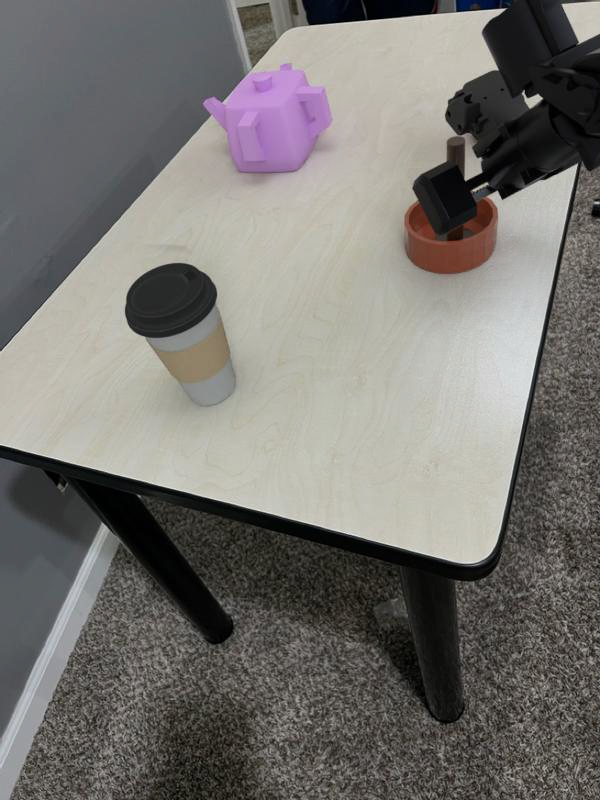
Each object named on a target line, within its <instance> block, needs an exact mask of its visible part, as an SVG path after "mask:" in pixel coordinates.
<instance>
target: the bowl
mask: <svg viewBox="0 0 600 800" xmlns="http://www.w3.org/2000/svg"><path fill="white" fill-rule="evenodd" d="M474 191H475V190H472V191H471V193H472V194H473V192H474ZM476 203H477V217H475V218H474V219H472V220H471V221H469V222H467V223H465V224H464V228H467V229H469V230H471V231H472V232H473V233H474V234H475V235H474V236H472V237H470V238H466V239H462V240H458V241H445V242H443V241H435V237H436V235H437V234H435V233H434V231H433V229H432V227H431V225H430V223H429V221H428V219H427V217H426V215H425V213H424V211H423V209H422V207H421V205H420V203H419V201H418V199H417V200H416V201H415V202H413V203H412V204H411V205H409V207H408V208H407V210H406V212H405V213H404V215H403V216H404V219H403V229H404V242H405V243H404V245H405V251H406V255H407V257H408V259H409V260H410V261H411V263H413V265H415V266H416V267H417V268H420V269H421V270H424V271H426V272H430V273H435V274H442V275H446V274H447V275H449V274H459V273H463V272H467V271H471V270H473V269H475V268H477V267H480V266H481V265H483V264H484V263H486V262H487V261H488V260H489V259H490V258H491V257H492V256H493V254H494V252H495V249H496V245H497V240H498V239H497V238H498V224H499V209H498V207H497V205H496V204H495V202H494V201H493V199H491V198H490V197H489V196H487V197H485V198H483V199H481V200H479V201H477V202H476Z"/></svg>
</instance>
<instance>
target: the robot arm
mask: <svg viewBox="0 0 600 800" xmlns="http://www.w3.org/2000/svg"><path fill="white" fill-rule="evenodd" d="M481 36H482V38H483V41H484V42H485V44H486V46H487V48H488V50H489V53H490V55H491V57H492V59H493V61H494V63H495V65H496V67H497V69H492V70H490V71H488V72H485V73H484V74H482V75H479V76H478V77H475V78H473V79H471V80H469V81H466V82H465V83H464V84H463V86H462V88H461V89H459V90H457V91H455V93H454V95H453V97H451V98H449V99H448V100H447V107H446V110H445V113H444V119H445V122H446V123H447V125H449V127H450V128H451V129H452V131H454V133H455V134H456V136H461V137H463V136H464V135H466V134H470V135H471V136H472V137H473V138H474V139H476V140H477V142H475V143H474V144H473V145H472V146H471V149H472V151H473V153H474V156H475V157H476V159H480V158H481V161H480V169H481V172H480V173H478V174H477V175H474V176H472V177H470V178H468V179H467V180H466V178H465V179H464V177H463V175H462V173H461V171H460V169H459V167H458V165H457V164H455V163H453V162H452V161H450V160H448V161H447V160H446V161H444V162H442V163H439V165H437V166H433V167H432V168H430V169H429V170H426V171H424V172H423V173H421V174H419V176H418V177H417V178H415V179H414V180H413V182H412V183H413V184H412V187H411V189H412V191H413V193H414V195H415V198H416V199H417V200H418V201H419V203H420V205H421V207H422V209H423V211H424V213H425V215H426V217H427V219H428V221H429V223H430V225H431V227H432V229H433V231H434V233H435V234H438V235H440V236H443V235H445V234H447V233H449V232H450V231H452V230H454V229H456V228H458V227H460V226H462V225H463V224H465V223H467V222H469V221H471V220H472V219H474V218H475V217H477V203H476V202H477V201H479V200H481V199H483V198H485V197H490V196H491V195H492V194H495V193H496V192H497V193H498V195H499V197H500V199H501V201H504V200H506V199H508V198H509V197H511V196H513V195H515V194H517V193H519V192H521V191H522V190H525V189H526V188H529V187H530V186H532V185H534V184H536V183H538V182H539V181H546V180H549V179H550V178H552V177H554V176H557V175H560V174H561V173H563V172H565V171H567V170H568V169H571V168H572V167H574V166H576V165H578V164H579V163H583V165H584V168H585V170H586V171H587V172H593V171H595V170H598V169H599V168H600V33H598V34H596V35H594V36H592V37H590V38H588V39H586V40H583V41H582V42H580V41H579V39H578V37H577V34H576V32H575V30H574V28H573V25H572V24H571V21H570V19H569V17H568V15H567V13H566V11H565V9H564V7H563V4H562V0H516V1H515V2H513V3H512V4H511V5H509V6H508V7H507V8H505V9H504V10H502V12H501V13H499V14H498V15H496V16H494V17H492V18H491V19H489V21H488V22H487V23H486V24H485V25H484V27H483V28H482V29H481ZM523 93H524V94H523ZM524 95H525V96H524ZM537 95H538V96H539V97H540V98H542V99H540V100H539V101H538V102H537V103H535V104H534V105H533V106H532V107H531V108H530V106H529V105H528V104H527V102H526V100H525V98H526V99H531V98H533V97H536V96H537ZM483 185H484V186H483ZM481 186H482V187H481ZM479 187H481V188H479ZM477 188H479V189H477ZM475 189H476V190H475ZM471 191H474V192H473V194H472V193H471Z"/></svg>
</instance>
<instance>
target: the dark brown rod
mask: <svg viewBox="0 0 600 800" xmlns="http://www.w3.org/2000/svg"><path fill="white" fill-rule="evenodd" d="M448 160H450V161H452V162H453V163H455V164H457V165H458V167H459V169H460V171H461V173H462V175H463V177H464V179H465V180H466V178H465V177H466V139H465V137H464V136H459V135H456V136H455V135H454V136H451V137H449V138H448V139H447V140H446V161H448ZM474 235H475V234H474V233H473V232H472V231H471V230H469V229H467V228H464V224H463V225H462V226H460V227H458V228H456V229H454V230H452V231H450V232H449V233H447V234H445V235H443V236H440V235H438V234H437V235H436V237H435V241H443V242H445V241H458V240H462V239H466V238H470V237H472V236H474Z"/></svg>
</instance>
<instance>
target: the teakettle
mask: <svg viewBox="0 0 600 800" xmlns="http://www.w3.org/2000/svg"><path fill="white" fill-rule="evenodd" d="M328 99H329V98H328V95H327V91H326V88H325V85H324V86H323V85H321V86H317V85H315V86H314V85H313V86H310V83H309V80H308V78H307V76H306V74H305V72H304V70H302V69H293V66H292V62H283V63H282V64H280V65H279V70H270V71H268V70H267V71H259V72H257V71H256V72H250V73H249V74H247V75H246V76H245V77H244V78H243V79H242V80H241V81H240V82H239V84H238V85H237V86H236V87H235V89H234V90H233V92H232V93H231V94H230V96H229V98H228V99H227V101H226V102H225V103H226V104H225V103H223V102H222V101H220V100H218V99H217V98H216V97H215V96H212V97H209V98H207V99H205V100H204V101H203V103H202V105H203V107H204V108H205V109H206V110H207V112H208V113H209V114H210V115H211V116H212V117H213V118H214V120H215V121H216V122H217V124H219V125H220V127H221V128H222V129H223V130H224V131H225V133H226V139H227V144H228V147H229V153H230V157H231V160H232V162H233V164H234V165H235V167H236V169H237V170H238V171H239V172H241V173H291V172H295V171H298V170H299V169H300V168H301V167H302V166H303V164H305V162H306V160H307V159H308V157H309V156H310V155H311V153H312V151H313V149H314V147H315V145H316V141H317V139H318V136H319V134H321V133H323V131H325V130H327V129H328V128H330V126H331V124H332V122H333V120H334V119H333V115H332V112H331V107H330V103H329V100H328Z"/></svg>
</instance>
